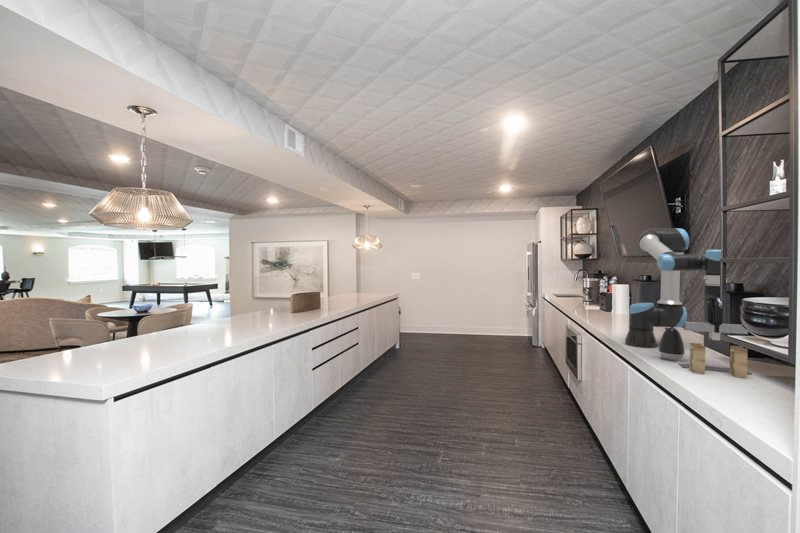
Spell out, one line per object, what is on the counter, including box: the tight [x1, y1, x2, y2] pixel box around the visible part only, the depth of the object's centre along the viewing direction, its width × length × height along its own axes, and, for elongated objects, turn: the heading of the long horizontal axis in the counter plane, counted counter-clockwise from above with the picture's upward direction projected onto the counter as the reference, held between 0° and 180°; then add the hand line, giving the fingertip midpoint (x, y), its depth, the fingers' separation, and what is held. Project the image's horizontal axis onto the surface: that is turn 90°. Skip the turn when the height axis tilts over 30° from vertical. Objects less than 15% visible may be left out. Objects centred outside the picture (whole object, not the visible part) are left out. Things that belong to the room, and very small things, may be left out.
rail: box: [683, 321, 749, 335], centre depth 175 cm, size 3×22×4 cm, turn 67°
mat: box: [678, 362, 753, 375], centre depth 175 cm, size 7×24×1 cm, turn 67°
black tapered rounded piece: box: [658, 327, 686, 362], centre depth 192 cm, size 10×10×15 cm
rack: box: [689, 342, 749, 379], centre depth 168 cm, size 6×18×12 cm, turn 67°
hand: (714, 339), depth 175 cm, fingers closed on rail, 3 cm apart
